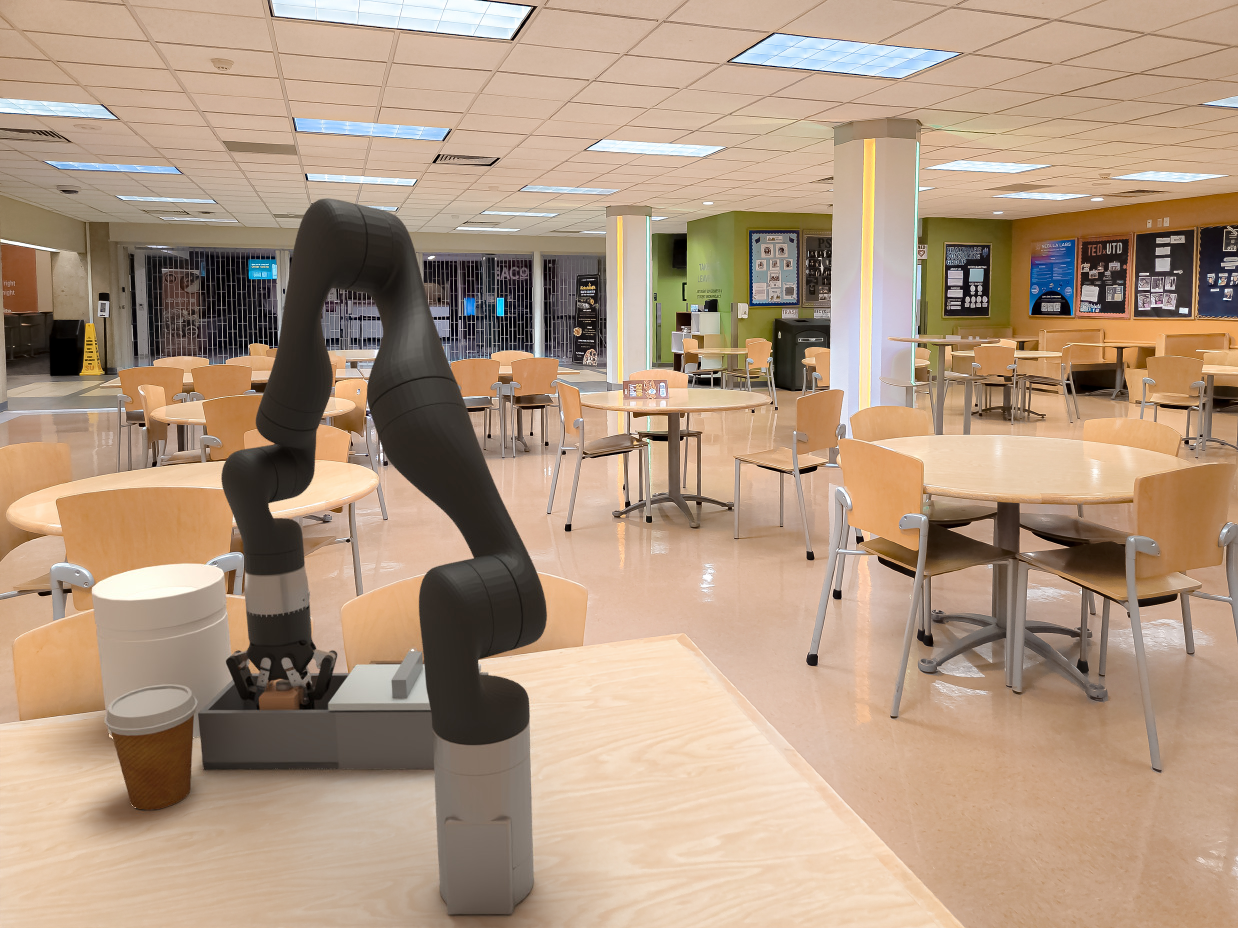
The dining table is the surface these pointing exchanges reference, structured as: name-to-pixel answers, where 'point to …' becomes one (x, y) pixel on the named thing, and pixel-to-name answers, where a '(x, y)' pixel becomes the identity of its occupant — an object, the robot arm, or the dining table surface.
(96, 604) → the canister
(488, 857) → the robot arm
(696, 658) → the dining table surface
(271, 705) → the orange rectangular block
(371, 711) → the frame
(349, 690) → the lid
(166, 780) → the disposable coffee cup
